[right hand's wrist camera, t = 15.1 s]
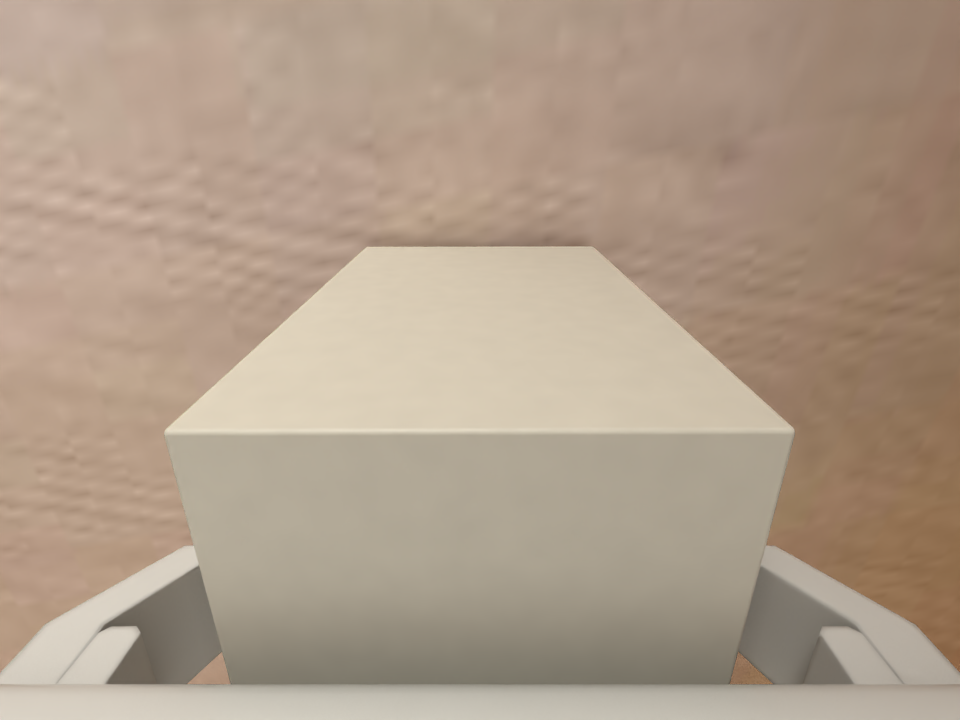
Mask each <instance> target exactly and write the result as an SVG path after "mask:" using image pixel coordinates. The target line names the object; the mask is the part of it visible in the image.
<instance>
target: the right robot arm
mask: <svg viewBox="0 0 960 720" xmlns="http://www.w3.org/2000/svg"><path fill="white" fill-rule="evenodd" d="M221 652H222V650H221V646H220V642H219V638H218V635H217V631H216V627H215V623H214V620H213V616H212V612H211V608H210V605H209V601H208V597H207V593H206V590H205V586H204V582H203V579H202V575H201V571H200V567H199V564H198V560H197V556H196V552H195V549H194V545H193V546H184V547H182V548H180V549H178V550H176V551H175V552H173V553H171V554H169V555H168V556H166V557H164V558H162V559H160V560H159V561H157V562H155V563H153V564H151V565H150V566H148V567H146V568H144V569H143V570H141V571H139V572H137V573H135V574H134V575H132V576H130V577H128V578H127V579H125V580H123V581H121V582H119V583H118V584H116V585H114V586H112V587H110V588H109V589H107V590H105V591H103V592H102V593H100V594H98V595H96V596H94V597H93V598H91V599H89V600H87V601H86V602H84V603H82V604H80V605H78V606H77V607H75V608H73V609H71V610H69V611H68V612H66V613H64V614H62V615H61V616H59V617H57V618H55V619H53V620H52V621H50V622H48V623H46V624H45V625H44V626H43V627H42V628H41V629H40V630H39V631H38V633H37V634H36V635H35V636H34V637H33V638H32V639H31V640H30V641H29V642H28V643H27V644H26V645H25V647H24V648H23V649H22V650H21V651H20V652H19V653H18V654H17V655H16V656H15V657H14V658H13V660H12V661H11V662H10V663H9V664H8V665H7V666H6V667H5V668H4V669H3V670H2V671H1V672H0V720H960V672H959V671H958V670H957V669H956V668H955V667H954V666H953V665H952V664H951V663H950V662H949V661H948V659H947V658H946V657H945V656H944V655H943V654H942V653H941V652H940V651H939V650H938V649H937V648H936V646H935V645H934V644H933V643H932V642H931V641H930V640H929V639H928V638H927V637H926V636H925V634H924V633H923V632H922V631H921V630H920V629H919V628H918V627H917V626H916V625H915V624H913V623H911V622H910V621H908V620H906V619H904V618H903V617H901V616H899V615H897V614H895V613H894V612H892V611H890V610H888V609H887V608H885V607H883V606H881V605H879V604H878V603H876V602H874V601H872V600H871V599H869V598H867V597H865V596H863V595H862V594H860V593H858V592H856V591H855V590H853V589H851V588H849V587H847V586H846V585H844V584H842V583H840V582H839V581H837V580H835V579H833V578H831V577H830V576H828V575H826V574H824V573H823V572H821V571H819V570H817V569H815V568H814V567H812V566H810V565H808V564H807V563H805V562H803V561H801V560H799V559H798V558H796V557H794V556H792V555H791V554H789V553H787V552H785V551H783V550H782V549H780V548H778V547H776V546H767V545H766V547H765V551H764V554H763V558H762V562H761V566H760V570H759V574H758V577H757V581H756V585H755V589H754V593H753V597H752V600H751V604H750V608H749V612H748V616H747V619H746V623H745V627H744V631H743V635H742V639H741V642H740V646H739V650H738V652H739V653H740V654H742V655H743V656H744V657H745V658H746V659H747V660H748V661H749V662H750V663H751V664H752V665H753V666H754V667H756V668H757V669H758V670H759V671H760V672H761V673H762V674H763V675H764V676H765V677H766V678H767V679H769V680H770V681H771V682H772V683H773V684H187V683H188V682H189V681H190V680H192V679H193V678H194V677H195V676H196V675H197V674H198V673H199V672H200V671H201V670H202V669H203V668H205V667H206V666H207V665H208V664H209V663H210V662H211V661H212V660H213V659H214V658H215V657H216V656H218V655H219V654H220V653H221Z"/></svg>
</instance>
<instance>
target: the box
mask: <svg viewBox="0 0 960 720" xmlns="http://www.w3.org/2000/svg"><path fill="white" fill-rule="evenodd" d="M164 436H165V440H166V444H167V448H168V451H169V455H170V459H171V463H172V466H173V470H174V474H175V478H176V481H177V485H178V489H179V493H180V496H181V500H182V504H183V507H184V511H185V515H186V519H187V522H188V526H189V530H190V534H191V537H192V541H193V545H194V549H195V552H196V556H197V560H198V564H199V567H200V571H201V575H202V579H203V582H204V586H205V590H206V593H207V597H208V601H209V605H210V608H211V612H212V616H213V620H214V623H215V627H216V631H217V635H218V638H219V642H220V646H221V650H222V653H223V657H224V661H225V664H226V668H227V672H228V676H229V679H230V683H231V684H730V681H731V677H732V673H733V669H734V665H735V661H736V658H737V654H738V650H739V646H740V642H741V639H742V635H743V631H744V627H745V623H746V619H747V616H748V612H749V608H750V604H751V600H752V597H753V593H754V589H755V585H756V581H757V577H758V574H759V570H760V566H761V562H762V558H763V554H764V551H765V547H766V543H767V539H768V535H769V532H770V528H771V524H772V520H773V516H774V512H775V509H776V505H777V501H778V497H779V493H780V490H781V486H782V482H783V478H784V474H785V470H786V467H787V463H788V459H789V455H790V451H791V447H792V444H793V440H794V436H795V430H794V428H793V427H792V426H791V425H790V424H789V423H787V422H786V421H785V420H784V419H783V418H782V417H781V416H780V415H779V414H777V413H776V412H775V411H774V410H773V409H772V408H771V407H770V406H769V405H768V404H766V403H765V402H764V401H763V400H762V399H761V398H760V397H759V396H758V395H756V394H755V393H754V392H753V391H752V390H751V389H750V388H749V387H748V386H747V385H745V384H744V383H743V382H742V381H741V380H740V379H739V378H738V377H737V376H736V375H734V374H733V373H732V372H731V371H730V370H729V369H728V368H727V367H726V366H724V365H723V364H722V363H721V362H720V361H719V360H718V359H717V358H716V357H715V356H713V355H712V354H711V353H710V352H709V351H708V350H707V349H706V348H705V347H703V346H702V345H701V344H700V343H699V342H698V341H697V340H696V339H695V338H694V337H692V336H691V335H690V334H689V333H688V332H687V331H686V330H685V329H684V328H682V327H681V326H680V325H679V324H678V323H677V322H676V321H675V320H674V319H673V318H671V317H670V316H669V315H668V314H667V313H666V312H665V311H664V310H663V309H661V308H660V307H659V306H658V305H657V304H656V303H655V302H654V301H653V300H652V299H650V298H649V297H648V296H647V295H646V294H645V293H644V292H643V291H642V290H641V289H639V288H638V287H637V286H636V285H635V284H634V283H633V282H632V281H631V280H629V279H628V278H627V277H626V276H625V275H624V274H623V273H622V272H621V271H620V270H618V269H617V268H616V267H615V266H614V265H613V264H612V263H611V262H610V261H608V260H607V259H606V258H605V257H604V256H603V255H602V254H601V253H600V252H599V251H597V250H596V249H595V248H594V247H592V246H542V247H366V248H365V249H364V250H362V251H361V252H360V253H359V254H358V255H357V256H356V257H355V258H354V259H353V260H351V261H350V262H349V263H348V264H347V265H346V266H345V267H344V268H343V269H342V270H340V271H339V272H338V273H337V274H336V275H335V276H334V277H333V278H332V279H331V280H329V281H328V282H327V283H326V284H325V285H324V286H323V287H322V288H321V289H320V290H318V291H317V292H316V293H315V294H314V295H313V296H312V297H311V298H310V299H309V300H307V301H306V302H305V303H304V304H303V305H302V306H301V307H300V308H299V309H298V310H296V311H295V312H294V313H293V314H292V315H291V316H290V317H289V318H288V319H287V320H285V321H284V322H283V323H282V324H281V325H280V326H279V327H278V328H277V329H276V330H274V331H273V332H272V333H271V334H270V335H269V336H268V337H267V338H266V339H265V340H263V341H262V342H261V343H260V344H259V345H258V346H257V347H256V348H255V349H254V350H252V351H251V352H250V353H249V354H248V355H247V356H246V357H245V358H244V359H243V360H241V361H240V362H239V363H238V364H237V365H236V366H235V367H234V368H233V369H232V370H230V371H229V372H228V373H227V374H226V375H225V376H224V377H223V378H222V379H221V380H219V381H218V382H217V383H216V384H215V385H214V386H213V387H212V388H211V389H210V390H208V391H207V392H206V393H205V394H204V395H203V396H202V397H201V398H200V399H199V400H197V401H196V402H195V403H194V404H193V405H192V406H191V407H190V408H189V409H188V410H186V411H185V412H184V413H183V414H182V415H181V416H180V417H179V418H178V419H177V420H175V421H174V422H173V423H172V424H171V425H170V426H169V427H168V428H167V429H166V430H165V433H164Z"/></svg>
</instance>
